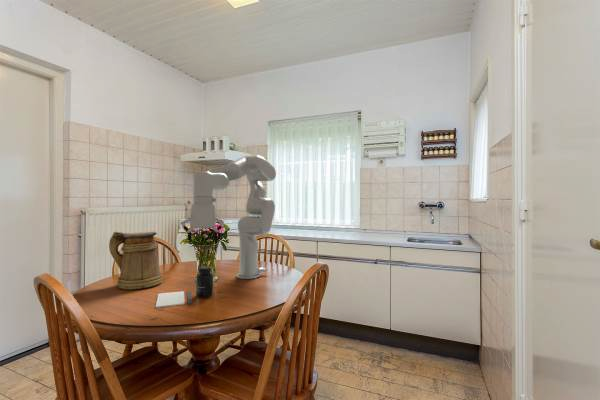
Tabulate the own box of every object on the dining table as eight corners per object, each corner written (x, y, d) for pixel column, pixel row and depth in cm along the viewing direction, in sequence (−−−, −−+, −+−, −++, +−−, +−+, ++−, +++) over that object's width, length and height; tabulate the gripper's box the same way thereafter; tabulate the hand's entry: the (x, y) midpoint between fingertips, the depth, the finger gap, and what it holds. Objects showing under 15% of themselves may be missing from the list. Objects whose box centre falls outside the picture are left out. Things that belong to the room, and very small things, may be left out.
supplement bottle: (197, 299, 119) (197, 269, 119) (194, 294, 125) (195, 266, 125) (214, 297, 122) (214, 268, 122) (211, 292, 128) (211, 264, 128)
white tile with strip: (190, 291, 129) (190, 290, 129) (192, 303, 114) (192, 302, 114) (158, 294, 124) (158, 293, 124) (155, 307, 109) (155, 306, 109)
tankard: (155, 289, 131) (156, 233, 131) (97, 291, 128) (98, 234, 128) (167, 278, 149) (167, 229, 149) (117, 280, 146) (117, 229, 146)
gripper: (223, 201, 131) (222, 239, 131) (181, 200, 125) (180, 241, 125) (225, 201, 124) (224, 242, 124) (180, 200, 118) (180, 243, 118)
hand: (202, 241), depth 124 cm, fingers open, 9 cm apart
